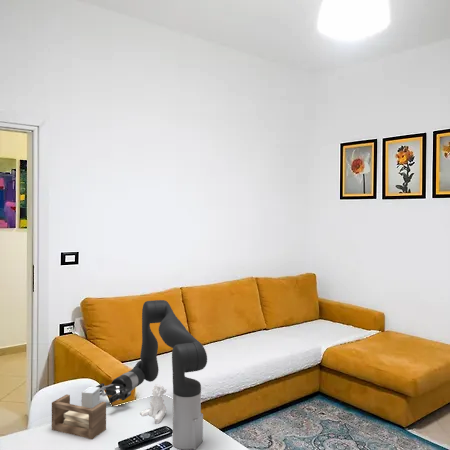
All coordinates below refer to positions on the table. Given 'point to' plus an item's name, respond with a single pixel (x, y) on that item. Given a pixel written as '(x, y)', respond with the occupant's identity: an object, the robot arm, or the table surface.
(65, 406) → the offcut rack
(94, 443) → the table surface
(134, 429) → the table surface
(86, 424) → the offcut stack
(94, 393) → the skincare box
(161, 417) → the sitting furry creature
